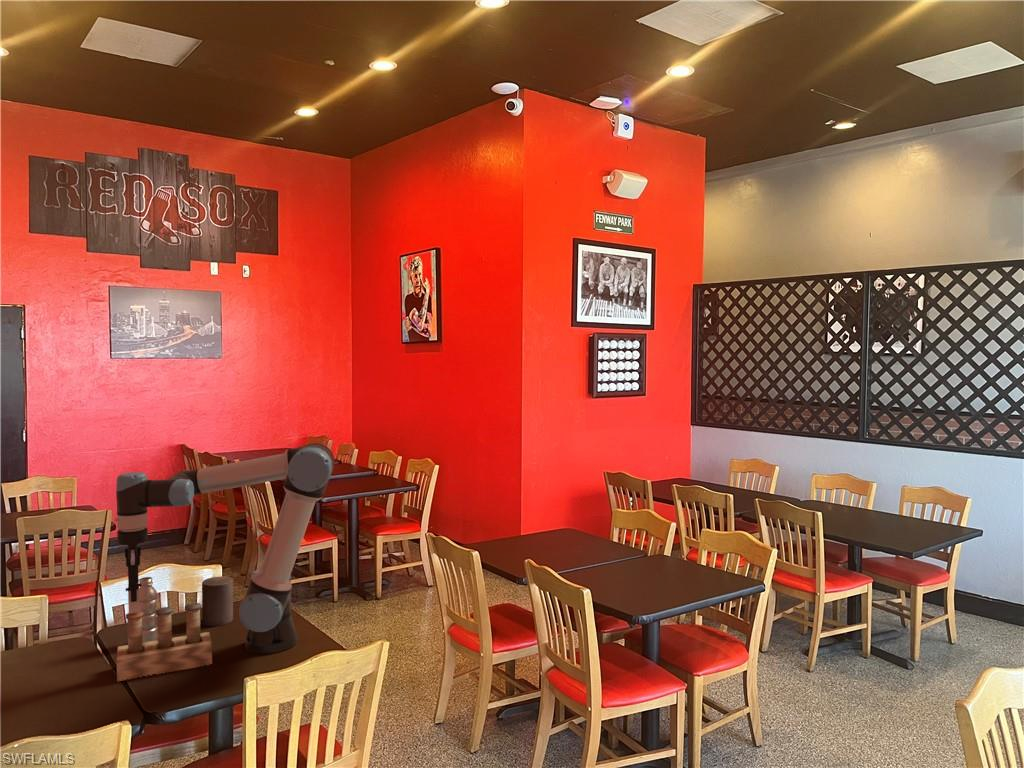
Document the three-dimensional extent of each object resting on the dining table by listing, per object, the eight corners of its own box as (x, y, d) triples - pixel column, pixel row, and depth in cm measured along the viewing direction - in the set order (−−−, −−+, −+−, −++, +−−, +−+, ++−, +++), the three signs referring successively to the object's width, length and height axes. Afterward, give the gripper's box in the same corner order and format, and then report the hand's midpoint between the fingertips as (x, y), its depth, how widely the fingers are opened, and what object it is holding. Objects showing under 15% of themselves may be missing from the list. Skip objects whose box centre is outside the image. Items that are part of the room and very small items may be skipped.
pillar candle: (197, 626, 237) (196, 581, 237) (209, 615, 247) (208, 572, 246) (226, 626, 237) (226, 581, 237) (237, 615, 247) (237, 572, 246)
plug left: (205, 639, 212) (204, 603, 212) (195, 645, 208) (194, 608, 208) (192, 638, 213) (191, 602, 213) (182, 644, 209) (181, 607, 209)
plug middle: (176, 644, 209) (176, 607, 209) (166, 650, 205) (165, 613, 204) (163, 643, 210) (162, 606, 210) (153, 649, 206) (152, 611, 205)
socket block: (209, 651, 217) (209, 631, 217) (212, 664, 209) (211, 643, 208) (118, 667, 207) (117, 646, 206) (117, 681, 198) (116, 659, 197)
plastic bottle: (134, 648, 220) (133, 583, 219) (136, 640, 226) (134, 577, 225) (158, 645, 222) (156, 580, 221) (159, 637, 229) (157, 574, 228)
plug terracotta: (147, 649, 206) (146, 611, 205) (136, 655, 201) (135, 617, 201) (134, 647, 207) (133, 610, 206) (123, 654, 202) (122, 616, 202)
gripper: (118, 524, 207) (119, 606, 208) (116, 535, 195) (118, 621, 196) (147, 522, 210) (149, 602, 211) (147, 532, 198) (149, 617, 199)
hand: (134, 611), depth 203 cm, fingers closed
